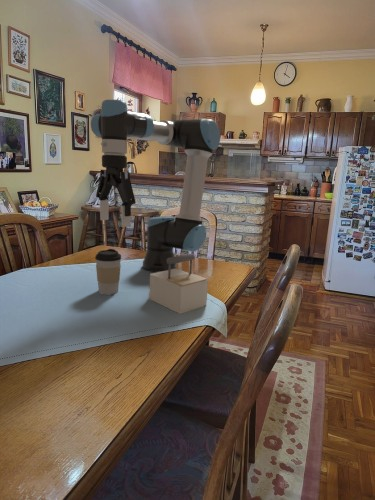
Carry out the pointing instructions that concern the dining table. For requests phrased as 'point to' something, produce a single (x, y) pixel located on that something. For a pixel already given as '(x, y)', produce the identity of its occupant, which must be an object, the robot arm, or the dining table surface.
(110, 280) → the coffee cup
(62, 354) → the dining table surface
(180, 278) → the drawer with bar handle
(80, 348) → the dining table surface
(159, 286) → the carton
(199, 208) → the robot arm
